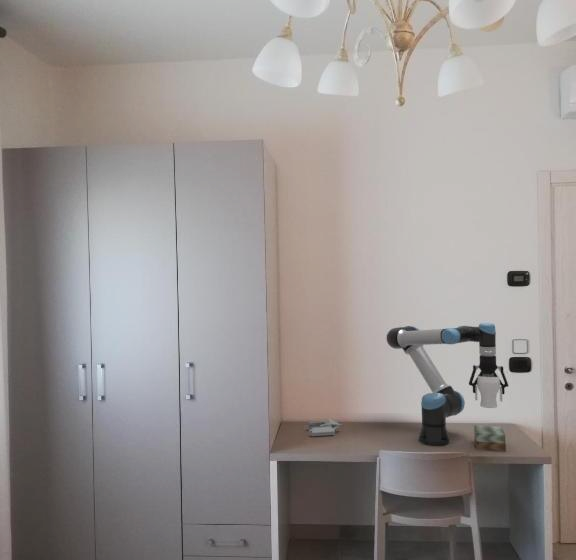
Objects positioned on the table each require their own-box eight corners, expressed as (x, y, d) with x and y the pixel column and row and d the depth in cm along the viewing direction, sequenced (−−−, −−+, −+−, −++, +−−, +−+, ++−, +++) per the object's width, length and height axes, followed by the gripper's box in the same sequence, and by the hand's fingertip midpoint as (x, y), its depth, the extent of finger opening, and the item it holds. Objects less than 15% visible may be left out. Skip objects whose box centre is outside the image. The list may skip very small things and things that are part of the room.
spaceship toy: (303, 430, 280) (303, 419, 280) (339, 428, 282) (338, 417, 282) (307, 438, 266) (307, 426, 266) (345, 435, 269) (344, 424, 269)
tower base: (476, 449, 242) (476, 433, 242) (474, 441, 254) (474, 425, 254) (505, 451, 238) (505, 434, 238) (502, 443, 251) (502, 426, 251)
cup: (498, 404, 250) (498, 373, 250) (502, 409, 240) (501, 378, 240) (476, 403, 253) (475, 373, 253) (478, 408, 243) (477, 377, 243)
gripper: (463, 355, 246) (464, 400, 246) (514, 356, 239) (515, 403, 239) (462, 353, 253) (463, 397, 253) (512, 354, 247) (513, 399, 247)
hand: (488, 400), depth 246 cm, fingers closed on cup, 11 cm apart
